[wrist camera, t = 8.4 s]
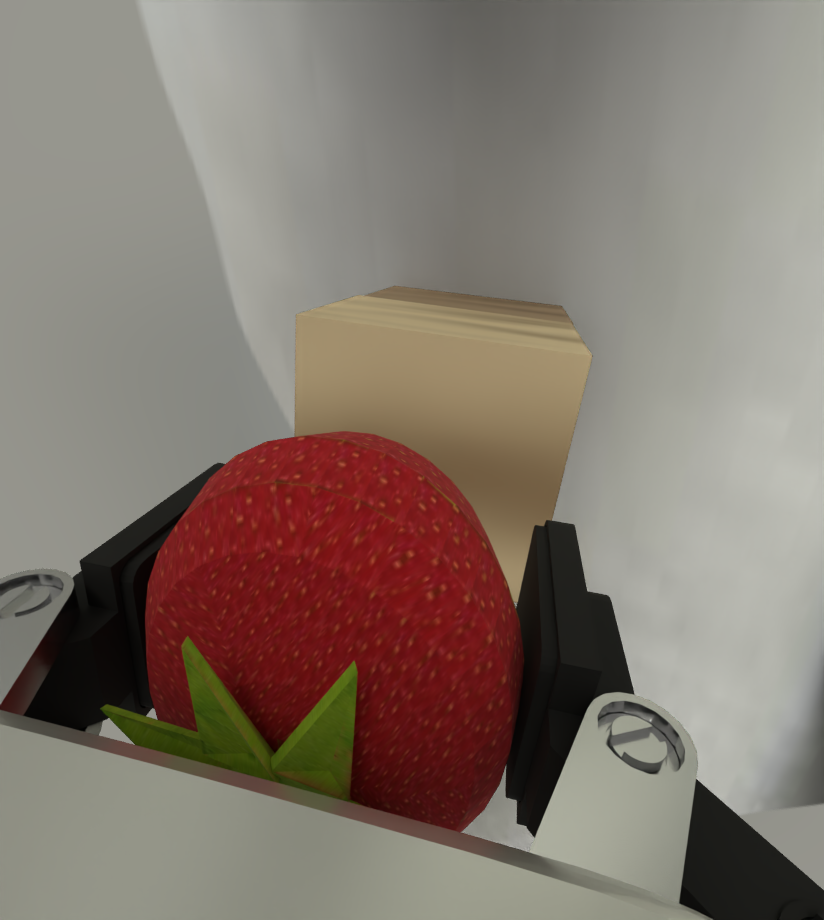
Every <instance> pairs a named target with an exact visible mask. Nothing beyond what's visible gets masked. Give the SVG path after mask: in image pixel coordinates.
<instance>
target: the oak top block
mask: <svg viewBox="0 0 824 920" xmlns="http://www.w3.org/2000/svg"><path fill="white" fill-rule="evenodd" d="M591 360H592V354H591V353H590V351H589V350H588V348H587V347H586V345H585V343H584V342H583V340H582V339H581V337H580V336H579V334H578V332H577V331H576V329H575V328H574V326H573V325H572V323H565V322H558V321H550V320H543V319H535V318H528V317H520V316H512V315H505V314H497V313H490V312H482V311H475V310H467V309H459V308H452V307H444V306H437V305H429V304H422V303H414V302H406V301H399V300H391V299H384V298H376V297H369V296H361V295H357V296H354V297H351V298H348V299H344V300H341V301H338V302H335V303H331V304H328V305H325V306H322V307H319V308H315V309H312V310H309V311H306V312H302V313H299V314H296V356H295V437H298V436H304V435H313V434H322V433H330V432H339V431H350V432H360V433H371V434H375V435H378V436H381V437H384V438H387V439H390V440H393V441H396V442H399V443H401V444H403V445H405V446H406V447H408V448H410V449H412V450H413V451H415V452H417V453H418V454H420V455H422V456H423V457H425V458H427V459H428V460H430V461H431V462H432V463H433V464H434V465H435V466H436V467H437V468H438V469H440V470H441V471H442V472H443V473H444V474H445V475H446V476H447V477H448V478H450V479H451V480H452V481H453V482H454V484H455V485H456V486H457V488H458V489H459V490H460V491H461V493H462V494H463V495H464V497H465V498H466V499H467V501H468V502H469V503H470V504H471V506H472V507H473V509H474V511H475V513H476V514H477V516H478V518H479V520H480V522H481V524H482V526H483V528H484V530H485V532H486V534H487V536H488V538H489V540H490V543H491V545H492V547H493V550H494V552H495V554H496V557H497V559H498V561H499V564H500V566H501V568H502V571H503V573H504V575H505V578H506V580H507V583H508V586H509V589H510V592H511V595H512V599H513V602H517V603H518V598H519V593H520V589H521V584H522V580H523V575H524V570H525V566H526V561H527V557H528V552H529V547H530V543H531V538H532V533H533V529H534V526H535V525H539V526H544V524H545V522H546V520H550V521H552V518H553V514H554V510H555V506H556V502H557V498H558V494H559V490H560V486H561V482H562V477H563V473H564V469H565V465H566V461H567V457H568V453H569V449H570V445H571V441H572V437H573V433H574V429H575V425H576V421H577V417H578V413H579V409H580V405H581V401H582V397H583V392H584V388H585V384H586V380H587V376H588V372H589V368H590V364H591Z"/></svg>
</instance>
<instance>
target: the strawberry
mask: <svg viewBox="0 0 824 920" xmlns="http://www.w3.org/2000/svg"><path fill="white" fill-rule="evenodd" d="M145 631H146V658H147V670H148V680H149V689H150V694H151V698H152V701H153V705H154V708H155V711H156V715H157V719H158V720H156V719H153V718H150V717H146V716H143V715H140V714H137V713H133V712H130V711H127V710H124V709H121V708H117V707H114V706H111V705H108V704H106V705H105V706H103V707H102V708H100V709H101V710H102V711H103V712H104V713H105V714H106V715H107V716H108V717H109V718H110V719H111V720H112V721H113V723H114V724H115V725H116V726H117V727H118V728H119V729H120V730H121V731H122V732H123V733H124V734H125V735H126V736H127V737H128V738H129V739H130V740H131V741H132V742H133V743H134V744H135V745H137V746H140V747H144V748H148V749H152V750H156V751H159V752H163V753H167V754H171V755H175V756H178V757H182V758H186V759H190V760H193V761H197V762H201V763H205V764H209V765H212V766H216V767H220V768H224V769H227V770H231V771H235V772H239V773H242V774H246V775H250V776H254V777H257V778H261V779H265V780H269V781H272V782H276V783H280V784H284V785H287V786H291V787H295V788H299V789H302V790H306V791H310V792H313V793H317V794H321V795H324V796H328V797H332V798H335V799H339V800H343V801H346V802H350V803H354V804H357V805H361V806H365V807H368V808H372V809H376V810H379V811H383V812H387V813H391V814H394V815H398V816H402V817H405V818H409V819H413V820H416V821H420V822H424V823H427V824H431V825H435V826H438V827H442V828H446V829H449V830H453V831H457V832H462V831H463V830H464V829H465V828H466V827H467V826H468V825H469V824H470V823H471V822H472V821H473V820H474V819H475V818H476V817H477V816H478V815H479V814H480V813H481V812H482V811H483V810H484V809H485V807H486V806H487V804H488V803H489V801H490V799H491V798H492V796H493V794H494V793H495V791H496V789H497V788H498V786H499V784H500V782H501V779H502V776H503V772H504V769H505V766H506V763H507V760H508V756H509V753H510V749H511V744H512V739H513V734H514V729H515V724H516V719H517V715H518V710H519V704H520V697H521V689H522V682H523V670H524V653H523V644H522V636H521V628H520V621H519V617H518V614H517V611H516V608H515V605H514V602H513V599H512V595H511V592H510V589H509V586H508V583H507V580H506V578H505V575H504V573H503V571H502V568H501V566H500V564H499V561H498V559H497V557H496V554H495V552H494V550H493V547H492V545H491V543H490V540H489V538H488V536H487V534H486V532H485V530H484V528H483V526H482V524H481V522H480V520H479V518H478V516H477V514H476V513H475V511H474V509H473V507H472V506H471V504H470V503H469V502H468V501H467V499H466V498H465V497H464V495H463V494H462V493H461V491H460V490H459V489H458V488H457V486H456V485H455V484H454V482H453V481H452V480H451V479H450V478H448V477H447V476H446V475H445V474H444V473H443V472H442V471H441V470H440V469H438V468H437V467H436V466H435V465H434V464H433V463H432V462H431V461H430V460H428V459H427V458H425V457H423V456H422V455H420V454H418V453H417V452H415V451H413V450H412V449H410V448H408V447H406V446H405V445H403V444H401V443H399V442H396V441H393V440H390V439H387V438H384V437H381V436H378V435H375V434H371V433H360V432H350V431H339V432H330V433H322V434H313V435H304V436H298V437H292V438H285V439H279V440H273V441H267V442H264V443H262V444H260V445H258V446H256V447H254V448H251V449H249V450H247V451H245V452H243V453H241V454H238V455H236V456H235V457H234V458H232V459H231V460H230V461H229V462H228V463H226V464H225V465H224V466H223V467H222V468H221V469H220V470H218V471H217V472H216V473H215V474H214V475H213V476H212V477H210V478H209V480H208V481H207V483H206V484H205V485H204V487H203V488H202V490H201V491H200V492H199V494H198V495H197V496H196V498H195V499H194V501H193V502H192V503H191V505H190V506H189V507H188V509H187V510H186V512H185V513H184V514H183V516H182V517H181V519H180V520H179V521H178V523H177V524H176V526H175V527H174V529H173V530H172V532H171V533H170V535H169V536H168V538H167V539H166V541H165V542H164V544H163V545H162V547H161V548H160V550H159V551H158V554H157V557H156V560H155V563H154V566H153V569H152V572H151V575H150V578H149V581H148V589H147V600H146V610H145Z"/></svg>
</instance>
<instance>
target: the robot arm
mask: <svg viewBox="0 0 824 920" xmlns="http://www.w3.org/2000/svg"><path fill="white" fill-rule="evenodd" d="M224 465H225V464H223V463H217V464H215V465H213V466H212V467H210V468H209V469H208V470H206V471H205V472H203V473H202V474H201V475H199V476H198V477H196V478H195V479H194V480H192V481H191V482H189V483H188V484H187V485H185V486H184V487H182V488H181V489H180V490H178V491H177V492H175V493H174V494H173V495H171V496H170V497H168V498H167V499H166V500H164V501H163V502H161V503H160V504H159V505H157V506H156V507H154V508H153V509H152V510H150V511H149V512H147V513H146V514H145V515H143V516H142V517H140V518H139V519H137V520H136V521H135V522H133V523H132V524H130V525H129V526H128V527H126V528H125V529H123V530H122V531H121V532H119V533H118V534H117V535H115V536H114V537H112V538H111V539H109V540H108V541H107V542H105V543H104V544H102V545H101V546H100V547H98V548H97V549H95V550H94V551H93V552H91V553H90V554H88V555H87V556H86V557H84V558H83V559H81V560H80V565H81V570H82V571H81V572H79V574H77V575H75V576H74V577H73V578H72V577H71V576H70V575H69V574H67V573H66V572H63V571H59V570H56V569H35V570H27V571H23V572H19V573H15V574H11V575H8V576H6V577H3V578H1V579H0V920H824V890H823V889H822V888H821V887H819V886H818V885H817V884H816V883H815V882H814V881H813V880H811V879H810V878H809V877H808V876H807V875H805V874H804V873H803V872H802V871H801V870H800V869H799V868H797V867H796V866H795V865H794V864H793V863H792V862H791V861H790V860H788V859H787V858H786V857H785V856H784V855H783V854H781V853H780V852H779V851H778V850H777V849H776V848H775V847H774V846H772V845H771V844H770V843H769V842H768V841H767V840H766V839H764V838H763V837H762V836H761V835H760V834H759V833H758V832H756V831H755V830H754V829H753V828H752V827H751V826H749V825H748V824H747V823H746V822H745V821H744V820H743V819H741V818H740V817H739V816H738V815H737V814H736V813H735V812H733V811H732V810H731V809H730V808H729V807H728V806H727V805H725V804H724V803H723V802H722V801H721V800H720V799H719V798H717V797H716V796H715V795H714V794H713V793H712V792H711V791H709V790H708V789H707V788H706V787H705V786H704V785H703V784H701V783H700V782H699V781H698V780H697V779H696V775H697V768H698V761H697V751H696V748H695V746H694V744H693V741H692V739H691V737H690V735H689V734H688V733H687V731H686V730H685V729H684V728H683V726H682V725H681V724H680V722H679V721H677V720H676V719H675V718H674V717H673V716H672V715H671V714H669V713H668V712H667V711H666V710H665V709H663V708H661V707H660V706H658V705H656V704H655V703H653V702H651V701H650V700H647V699H644V698H642V697H639V696H636V695H635V694H634V690H633V686H632V682H631V678H630V674H629V670H628V666H627V662H626V658H625V654H624V650H623V646H622V642H621V638H620V634H619V630H618V626H617V622H616V618H615V614H614V610H613V606H612V602H611V600H610V597H609V596H607V595H603V594H598V593H593V592H588V591H587V588H586V583H585V578H584V572H583V567H582V562H581V556H580V551H579V546H578V540H577V535H576V530H575V526H574V525H573V524H568V523H562V522H556V521H550V520H546V522H545V524H544V526H539V525H535V526H534V529H533V533H532V538H531V543H530V547H529V552H528V557H527V561H526V566H525V570H524V575H523V580H522V584H521V589H520V593H519V598H518V603H517V607H516V611H517V614H518V617H519V621H520V628H521V636H522V644H523V653H524V670H523V682H522V689H521V697H520V704H519V710H518V715H517V719H516V724H515V729H514V734H513V739H512V744H511V749H510V753H509V756H508V760H507V763H506V798H510V799H514V800H517V824H520V825H524V826H527V829H528V830H529V831H530V833H531V834H532V835H533V836H534V838H535V839H534V841H533V844H532V846H531V849H530V851H529V852H526V851H523V850H519V849H516V848H512V847H509V846H505V845H502V844H498V843H495V842H492V841H488V840H485V839H481V838H478V837H474V836H471V835H468V834H464V833H460V832H457V831H453V830H449V829H446V828H442V827H438V826H435V825H431V824H427V823H424V822H420V821H416V820H413V819H409V818H405V817H402V816H398V815H394V814H391V813H387V812H383V811H379V810H376V809H372V808H368V807H365V806H361V805H357V804H354V803H350V802H346V801H343V800H339V799H335V798H332V797H328V796H324V795H321V794H317V793H313V792H310V791H306V790H302V789H299V788H295V787H291V786H287V785H284V784H280V783H276V782H272V781H269V780H265V779H261V778H257V777H254V776H250V775H246V774H242V773H239V772H235V771H231V770H227V769H224V768H220V767H216V766H212V765H209V764H205V763H201V762H197V761H193V760H190V759H186V758H182V757H178V756H175V755H171V754H167V753H163V752H159V751H156V750H152V749H148V748H144V747H140V746H137V745H133V744H129V743H125V742H122V741H117V740H114V739H110V738H106V737H103V736H99V733H100V731H101V727H102V722H103V720H106V719H108V718H109V717H108V716H107V715H106V714H105V713H104V712H103V711H102V710H101V709H100V708H102V707H103V706H105V705H106V704H108V705H111V706H114V707H117V708H121V709H124V710H127V711H130V712H133V713H137V714H140V715H143V716H146V715H147V714H148V713H149V711H150V710H151V709H152V708H154V705H153V701H152V698H151V694H150V689H149V680H148V670H147V658H146V631H145V610H146V600H147V589H148V581H149V578H150V575H151V572H152V569H153V566H154V563H155V560H156V557H157V554H158V551H159V550H160V548H161V547H162V545H163V544H164V542H165V541H166V539H167V538H168V536H169V535H170V533H171V532H172V530H173V529H174V527H175V526H176V524H177V523H178V521H179V520H180V519H181V517H182V516H183V514H184V513H185V512H186V510H187V509H188V507H189V506H190V505H191V503H192V502H193V501H194V499H195V498H196V496H197V495H198V494H199V492H200V491H201V490H202V488H203V487H204V485H205V484H206V483H207V481H208V480H209V478H210V477H212V476H213V475H214V474H215V473H216V472H217V471H218V470H220V469H221V468H222V467H223V466H224ZM154 709H155V708H154Z"/></svg>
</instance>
